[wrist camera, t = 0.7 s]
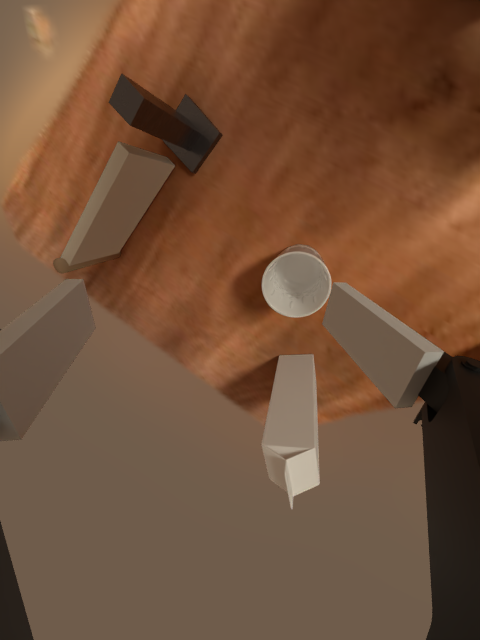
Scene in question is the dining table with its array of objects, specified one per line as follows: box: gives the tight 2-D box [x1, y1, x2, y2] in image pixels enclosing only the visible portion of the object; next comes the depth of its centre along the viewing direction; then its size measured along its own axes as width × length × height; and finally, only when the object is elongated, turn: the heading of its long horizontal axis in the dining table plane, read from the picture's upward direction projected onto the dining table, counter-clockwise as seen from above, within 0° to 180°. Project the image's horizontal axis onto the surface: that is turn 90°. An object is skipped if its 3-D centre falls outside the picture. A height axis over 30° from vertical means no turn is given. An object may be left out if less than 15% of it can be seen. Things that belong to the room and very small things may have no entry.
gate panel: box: [53, 141, 175, 273], centre depth 34 cm, size 19×2×11 cm, turn 136°
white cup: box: [262, 244, 331, 317], centre depth 33 cm, size 8×8×10 cm
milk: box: [261, 354, 320, 509], centre depth 35 cm, size 6×6×22 cm
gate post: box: [109, 74, 222, 174], centre depth 28 cm, size 6×6×14 cm
